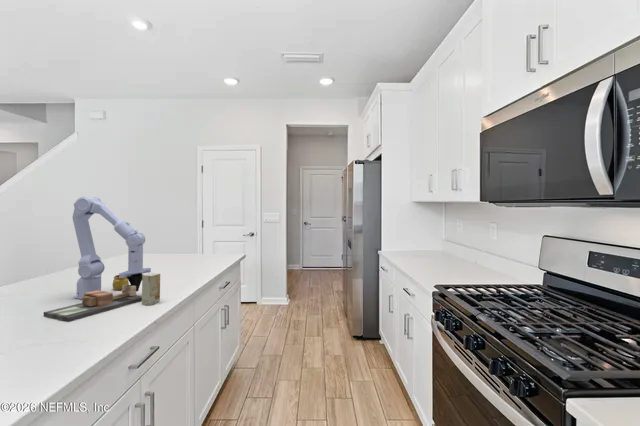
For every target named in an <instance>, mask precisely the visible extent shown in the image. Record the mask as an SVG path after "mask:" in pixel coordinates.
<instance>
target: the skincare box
mask: <svg viewBox="0 0 640 426" xmlns="http://www.w3.org/2000/svg"><path fill="white" fill-rule="evenodd" d="M141 287H142V288H141V296H142V301H141V305H145V306H152V305H155V304H158V303H159V302H161V273H157V272H150V273H145V274H143V275H142V281H141Z"/></svg>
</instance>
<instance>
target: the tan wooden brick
mask: <svg viewBox="0 0 640 426" xmlns="http://www.w3.org/2000/svg"><path fill="white" fill-rule="evenodd" d="M111 293H112V301H113V300H114V299H118V298H122V297H125V296H135V295H137V292H136V286H133V285H131V284H129V285H122V290H121V293H116V294H113V292H111ZM81 300H82V301H81V303H82V305H85V306H95V305H97V297H96V296H85V297H82V299H81Z"/></svg>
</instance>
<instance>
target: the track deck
mask: <svg viewBox="0 0 640 426" xmlns="http://www.w3.org/2000/svg"><path fill="white" fill-rule="evenodd" d="M112 293H113V292H110V291H103V290H101V291H98V290H95V291H91V292H86V293H84V297H85V296H96V297H97V305H95V306H85V305H82V302H80V303H77V304H73V305H68V306H64V307H61V308H60V307H59V308H55V309H52V310H47V311H44V312H43V317H44V318H49V319H55V320H58V321H63V322H67V323H69V322H73V321H76V320H80V319H83V318H87V317H91V316H95V315H98V314H101V313H102V314H103V313H105V312H109V311H111V310H115V309H116V310H117V309H119V308H121V307H125V306H129V305H133V304H137V303H140V302H142V295H137V294H136V295H135V296H125V297H122V298H118V299H114V300H113V301H112Z"/></svg>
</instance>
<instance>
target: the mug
mask: <svg viewBox="0 0 640 426" xmlns="http://www.w3.org/2000/svg"><path fill="white" fill-rule="evenodd" d="M122 285H130V282H129V280H128V279H127V277H124V278H119V274H116V275H114V276H113V281H112V289H113V291H115V292H116V291H122Z"/></svg>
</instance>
